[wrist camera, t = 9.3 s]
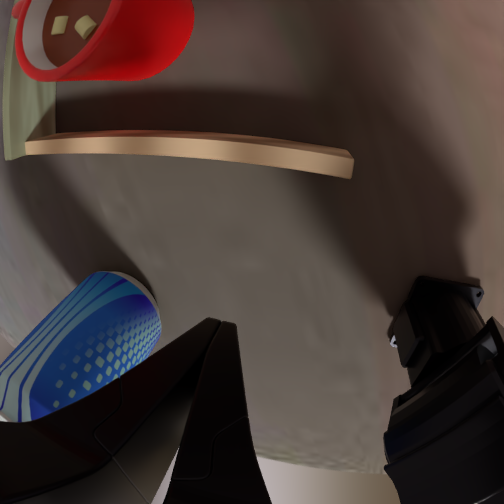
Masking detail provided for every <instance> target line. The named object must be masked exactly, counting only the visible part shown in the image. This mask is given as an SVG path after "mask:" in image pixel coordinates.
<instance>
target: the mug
mask: <svg viewBox="0 0 504 504" xmlns="http://www.w3.org/2000/svg"><path fill="white" fill-rule="evenodd" d="M12 16H13V17H14V18H15V19H18V22H17V27H16V33H15V49H16V56H17V59H18V62H19V65H20V67H21V68H22V70H23V71H24V73H25V74H26V75H28V76H29V77H30V78H32V79H34V80H36V81H39V82H57V81H81V80H114V81H137V80H142V79H146V78H149V77H151V76H153V75H156V74H158V73H160V72H161V71H162V70H164V69H165V68H167V67H168V66H169V65H170V64H171V63H172V62H173V61H174V60H175V59H176V58H177V57H178V56H179V55H180V53H181V52H182V51H183V49H184V48H185V46H186V44H187V42H188V40H189V38H190V35H191V32H192V29H193V24H194V7H193V4H192V2H191V0H20V1H18V2H17V3H16V4H15V5H14V7H13V8H12Z"/></svg>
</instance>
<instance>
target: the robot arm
mask: <svg viewBox="0 0 504 504" xmlns="http://www.w3.org/2000/svg"><path fill="white" fill-rule="evenodd" d="M421 282H424V283H423V284H422V285H419V284H420V283H421ZM478 292H479V293H478ZM477 293H478V294H477ZM483 295H484V291H483V289H482V288H481V287H480V286H476V285H470V284H464V283H459V282H453V281H448V280H442V279H436V278H430V277H425V276H420V277H418V278H417V279H416V280H415V282H414V284H413V287H412V289H411V292H410V294H409V297H408V299H407V301H406V302H405V303H404V304H403V306H402V308H401V311H400V313H399V315H398V318H397V320H396V322H395V324H394V326H393V333H392V335H391V337H390V345H391V346H392V347H397V348H398V353H399V357H400V362H401V365H402V367H404V368H407V370H408V375H409V379H410V384H411V389H409V390H408V391H407V392H405V393H404V394H402V395H399V396H397V397H396V398H395V399H394V400H393V406H392V411H391V416H390V421H389V425H388V430H387V431H386V432H385V433H384V437H383V440H384V450H385V456H386V460H387V462H388V464H387V465H385V466H384V470H385V472H386V473H387V474H388V476H389V477H390V478H391V480H392V481H393V483H394V485H395V487H396V489H397V492H398V495H399V499H400V503H401V504H504V328H503V327H502V325H501V324H500V323H499V322H498V321H497V320H496V319H495V318H494V317H493V316H492V317H491V318H490V319H489V320H488V321H487V322H486V323H487V324H485V322H484V320H483V319H482V317H481V315H480V314H479V312H478V310H477V307H478V305H479V303H480V301H481V299H482V297H483ZM395 340H396V341H395ZM178 448H179V450H178ZM177 450H178V454H177V457H176V461H175V465H174V468H173V472H172V476H171V481H170V484H169V488H168V491H167V494H166V497H165V499H164V502H163V504H272V502H271V500H270V497H269V494H268V491H267V488H266V486H265V482H264V480H263V477H262V474H261V471H260V468H259V464H258V461H257V457H256V454H255V450H254V446H253V441H252V436H251V431H250V424H249V418H248V410H247V403H246V396H245V388H244V381H243V373H242V366H241V358H240V350H239V342H238V334H237V326H236V324H235V323H231V322H227V321H222V322H221V320H218V319H214V318H210V317H208V318H206V319H204V320H203V321H201V322H200V323H198V324H197V325H196V326H194V327H193V328H191V329H190V330H188V331H187V332H185V333H184V334H182V335H181V336H179V337H178V338H176V339H175V340H173V341H172V342H171V343H169V344H168V345H166V346H165V347H163V348H162V349H160V350H159V351H157V352H156V353H154V354H153V355H151V356H150V357H148V358H147V359H145V360H144V361H142V362H141V363H139V364H137V365H136V366H134V367H133V368H131V369H130V370H128V371H127V372H125V373H124V374H122V375H121V376H120V378H119V377H117V378H116V379H114V380H113V381H111V382H110V383H108V384H106V385H105V386H103V387H101V388H100V389H98V390H96V391H95V392H93V393H91V394H89V395H87V396H85V397H83V398H82V399H80V400H78V401H76V402H73V403H71V404H69V405H67V406H65V407H63V408H61V409H58V410H56V411H54V412H52V413H50V414H47V415H45V416H43V417H41V418H38V419H35V420H32V421H26V422H6V421H0V504H151V503H152V501H153V498H154V497H155V495H156V493H157V491H158V489H159V487H160V484H161V483H162V481H163V479H164V477H165V475H166V472H167V470H168V468H169V466H170V464H171V462H172V460H173V458H174V456H175V454H176V452H177Z"/></svg>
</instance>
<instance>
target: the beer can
mask: <svg viewBox="0 0 504 504" xmlns="http://www.w3.org/2000/svg"><path fill="white" fill-rule="evenodd" d="M160 334H161V321H160V315H159V309H158V306H157V304H156V301H155V299H154V298H153V296H152V295H151V293H150V292H149V291H148V290H147V289H146V287H145V286H144V285H142V284H141V283H140V282H139V281H138V280H136V279H135V278H133V277H131V276H129V275H127V274H124V273H121V272H115V271H112V272H108V271H99V272H95V273H93V274H91V275H89V276H88V277H87V278H86V279H85V280H84V281H83V282H82V283H81V284H79V285H78V286H77V287H76V288H75V289H74V290H73V291H72V292H71V293H70V294H69V295H68V296H67V297H66V298H65V299H64V300H63V301H61V302H60V303H59V304H58V305H57V306H56V307H55V308H54V309H53V310H52V311H51V312H50V313H49V314H48V315H47V316H46V317H45V318H44V319H43V320H42V321H41V322H40V323H39V324H38V325H37V326H36V327H35V328H34V329H33V330H32V331H31V333H30V334H29V335H28V336H27V337H26V338H25V339H24V340H23V341H22V342H21V343H20V344H19V345H18V346H17V347H16V348H15V350H14V351H13V352H12V353H11V354H10V355H9V356H8V357H7V358H6V359H5V361H4V362H3V363H2V364H1V365H0V421H6V422H26V421H32V420H35V419H38V418H41V417H43V416H45V415H47V414H50V413H52V412H54V411H56V410H58V409H61V408H63V407H65V406H67V405H69V404H71V403H73V402H76V401H78V400H80V399H82V398H83V397H85V396H87V395H89V394H91V393H93V392H95V391H96V390H98V389H100V388H101V387H103V386H105V385H106V384H108V383H110V382H111V381H113V380H114V379H116V378H117V377H119V378H120V376H121V375H122V374H124V373H125V372H127V371H128V370H130V369H131V368H133V367H134V366H136V365H137V364H139V363H141V362H142V361H144V360H145V359H147V357H148V356H149V354H150V352H151V351H152V349H153V348H154V346H155V344H156V343H157V341H158V339H159V337H160Z"/></svg>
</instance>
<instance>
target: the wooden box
mask: <svg viewBox="0 0 504 504" xmlns="http://www.w3.org/2000/svg"><path fill="white" fill-rule="evenodd" d="M18 1H20V0H15V2H14V5H15V4H16V3H17V2H18ZM13 7H14V6H13ZM17 22H18V19H15V18H14V17H13V16H11V21H10V27H9V33H8V39H7V47H6V55H5V66H4V80H3V139H4V153H5V160H13V159H16V158H19V157H21V156H24V155H34V154H62V153H113V154H144V155H163V156H178V157H192V158H204V159H215V160H225V161H234V162H243V163H251V164H259V165H267V166H274V167H281V168H288V169H295V170H301V171H307V172H314V173H320V174H325V175H331V176H336V177H342V178H347V179H351V177H352V171H353V166H354V158H353V157H352V156H351V155H350V153H349V152H348V151H347V150H344V149H339V148H333V147H328V146H322V145H316V144H310V143H303V142H297V141H290V140H282V139H275V138H266V137H258V136H248V135H238V134H226V133H213V132H197V131H173V130H107V131H85V132H69V133H57V134H56V120H55V107H56V82H39V81H36V80H34V79H32V78H30V77H29V76H28V75H26V74H25V73H24V71H23V70H22V68H21V67H20V65H19V62H18V59H17V56H16V49H15V33H16V27H17Z"/></svg>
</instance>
